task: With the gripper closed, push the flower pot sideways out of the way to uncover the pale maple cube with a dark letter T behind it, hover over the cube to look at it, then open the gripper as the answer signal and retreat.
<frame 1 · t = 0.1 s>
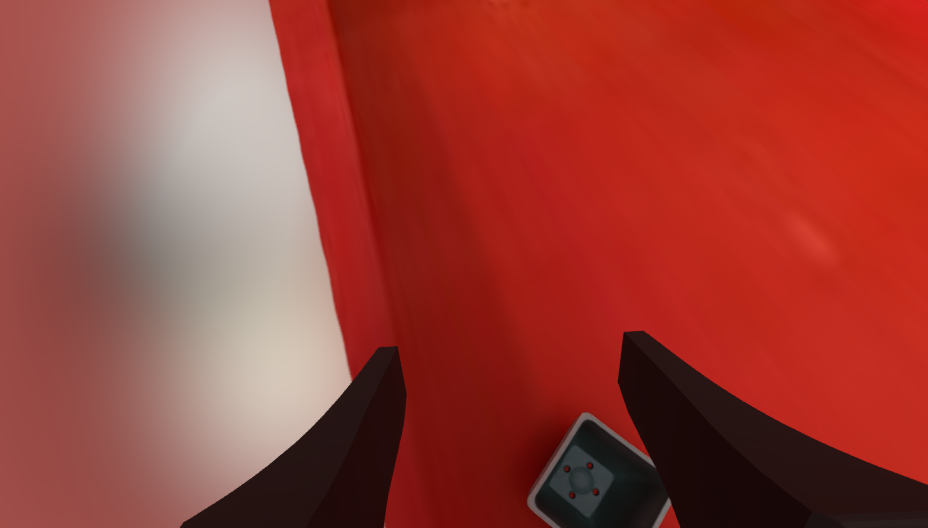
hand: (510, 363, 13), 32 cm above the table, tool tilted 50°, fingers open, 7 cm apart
flower pot: (580, 478, 40), on the table
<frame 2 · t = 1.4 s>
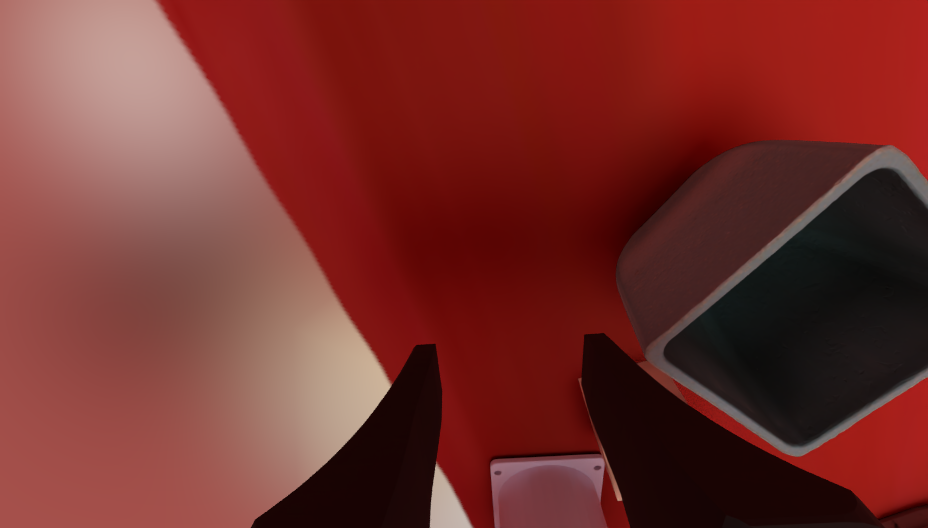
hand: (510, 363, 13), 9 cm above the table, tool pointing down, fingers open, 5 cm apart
letter cube: (623, 395, 26), on the table
flower pot: (692, 228, 21), on the table
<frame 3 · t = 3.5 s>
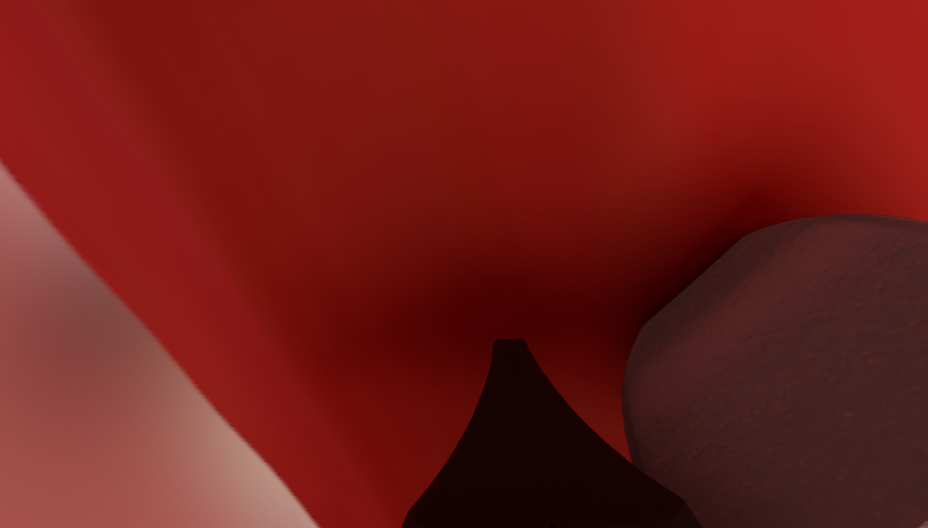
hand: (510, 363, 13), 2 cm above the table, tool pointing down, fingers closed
flower pot: (731, 311, 15), on the table, touching gripper
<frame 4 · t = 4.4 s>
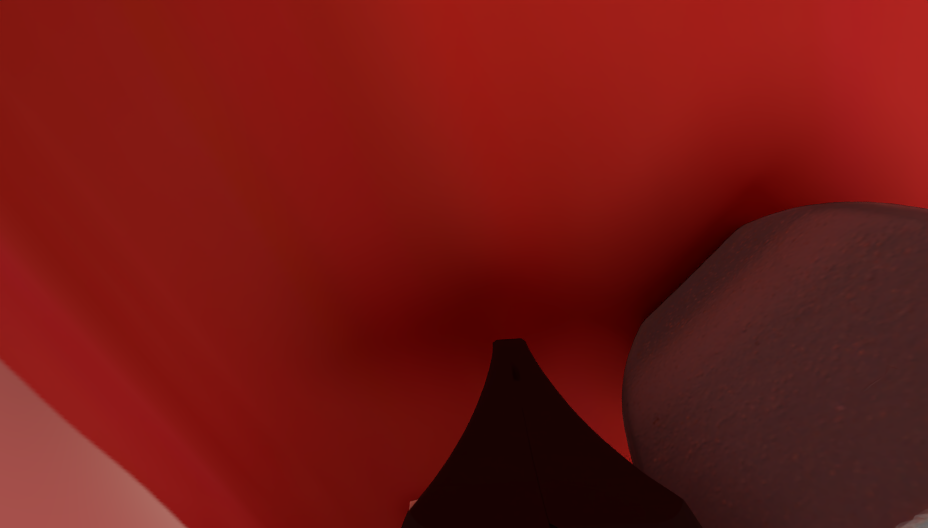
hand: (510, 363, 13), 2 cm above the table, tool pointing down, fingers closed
flower pot: (732, 303, 15), on the table, touching gripper
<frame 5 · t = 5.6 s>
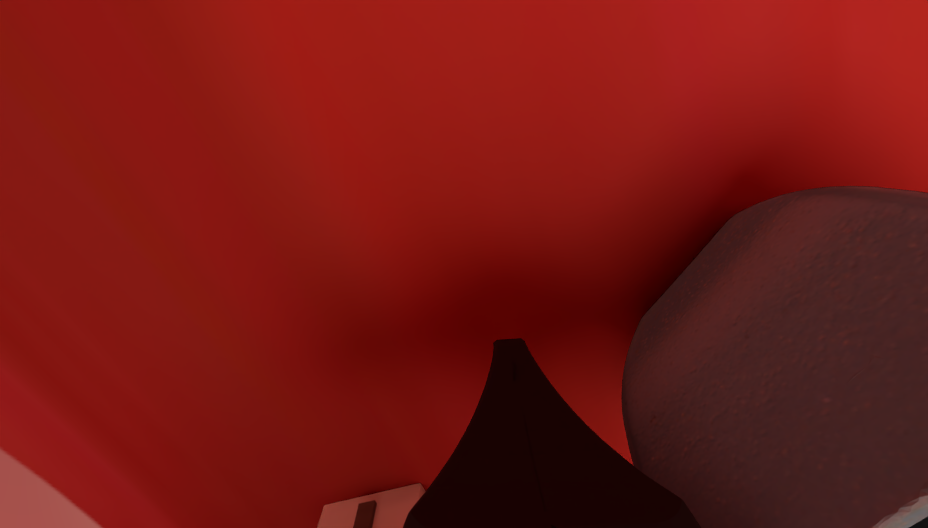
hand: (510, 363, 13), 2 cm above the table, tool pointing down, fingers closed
letter cube: (393, 522, 20), on the table
flower pot: (733, 293, 14), on the table, touching gripper
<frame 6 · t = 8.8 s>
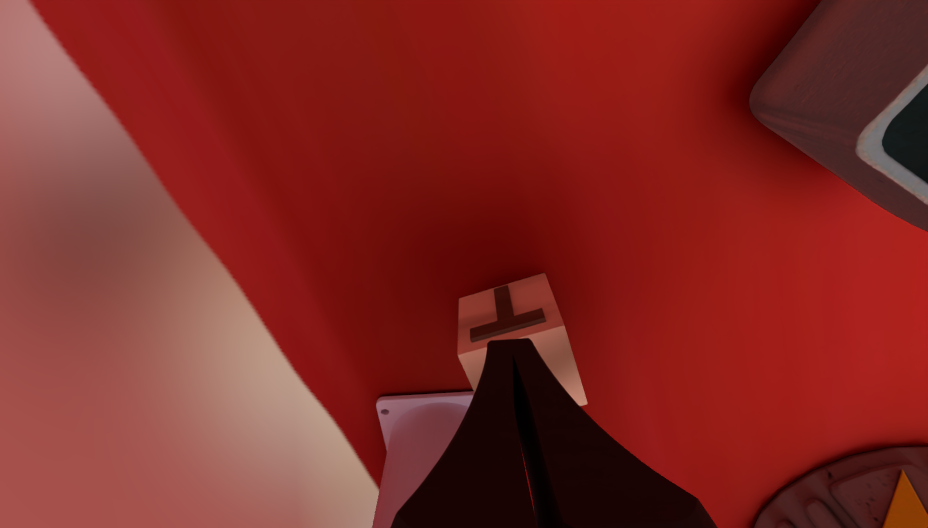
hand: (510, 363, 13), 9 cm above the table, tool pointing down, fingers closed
letter cube: (513, 320, 24), on the table
flower pot: (827, 67, 18), on the table
decorative lamp: (859, 515, 32), on the table
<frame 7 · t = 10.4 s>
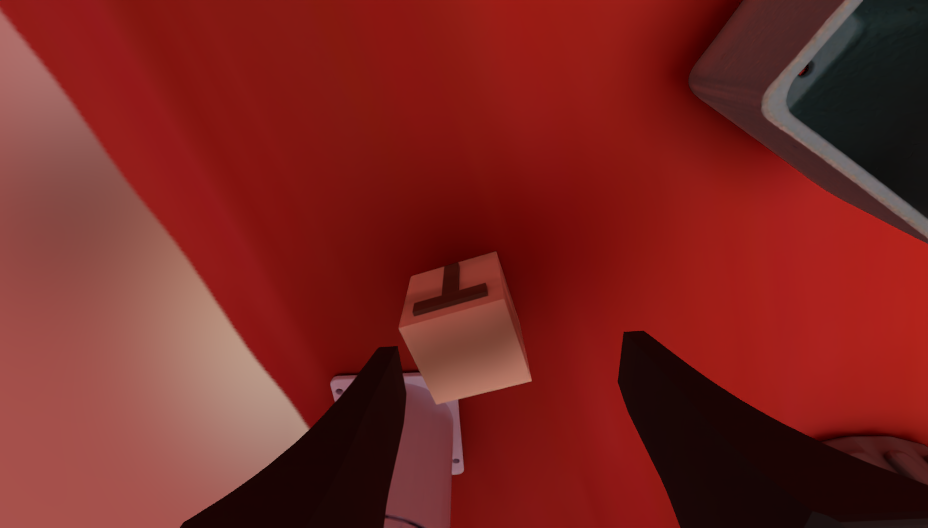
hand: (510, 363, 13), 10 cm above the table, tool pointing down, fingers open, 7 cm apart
letter cube: (467, 299, 24), on the table
flower pot: (771, 45, 18), on the table
decorative lamp: (818, 505, 32), on the table
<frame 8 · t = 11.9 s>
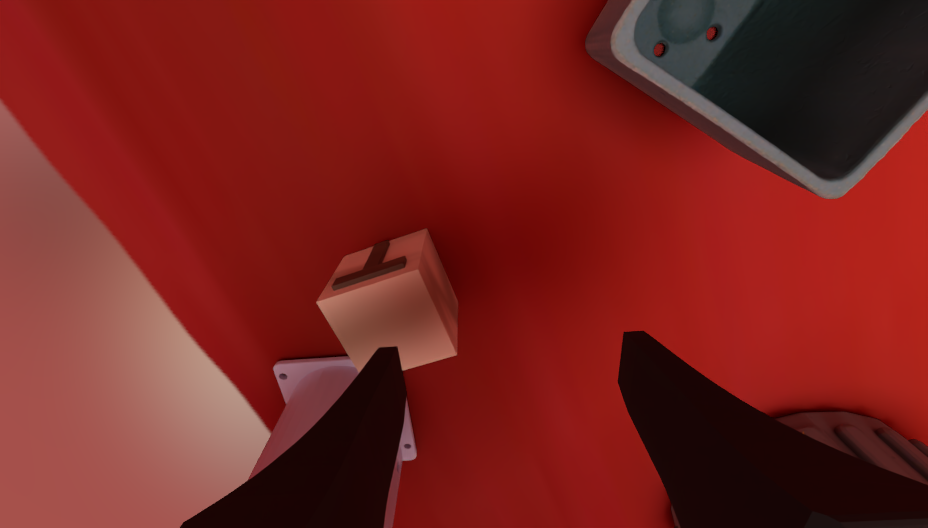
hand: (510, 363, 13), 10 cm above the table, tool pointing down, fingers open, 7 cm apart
letter cube: (403, 279, 24), on the table
flower pot: (679, 10, 18), on the table
decorative lamp: (779, 485, 32), on the table
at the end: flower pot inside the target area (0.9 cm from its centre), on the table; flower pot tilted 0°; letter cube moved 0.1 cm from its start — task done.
